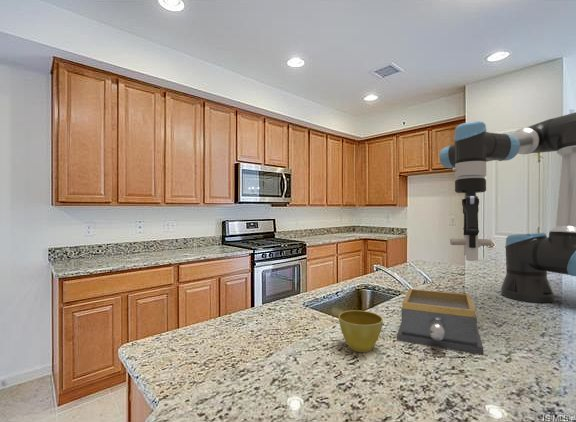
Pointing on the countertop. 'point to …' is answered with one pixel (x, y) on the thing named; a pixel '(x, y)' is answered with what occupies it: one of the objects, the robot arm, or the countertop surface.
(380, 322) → the flower pot
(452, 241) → the pipe connector
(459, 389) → the countertop surface
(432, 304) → the grey gold-rimmed box
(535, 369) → the countertop surface
